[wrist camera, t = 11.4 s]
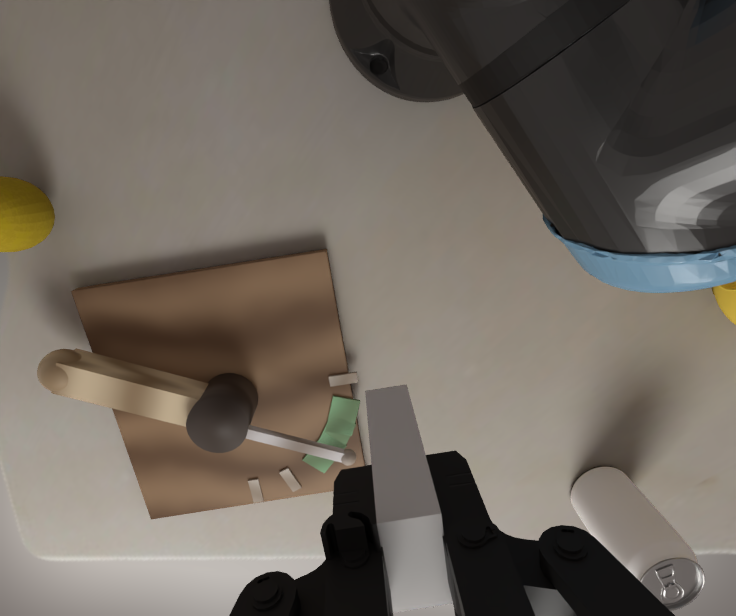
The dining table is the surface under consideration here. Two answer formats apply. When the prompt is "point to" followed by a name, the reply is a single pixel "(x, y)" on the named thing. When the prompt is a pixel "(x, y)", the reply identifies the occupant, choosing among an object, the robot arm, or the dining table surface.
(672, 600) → the can
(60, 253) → the dining table surface
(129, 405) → the tan long two-tone device
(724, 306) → the teapot
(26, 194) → the lemon
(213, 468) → the board
